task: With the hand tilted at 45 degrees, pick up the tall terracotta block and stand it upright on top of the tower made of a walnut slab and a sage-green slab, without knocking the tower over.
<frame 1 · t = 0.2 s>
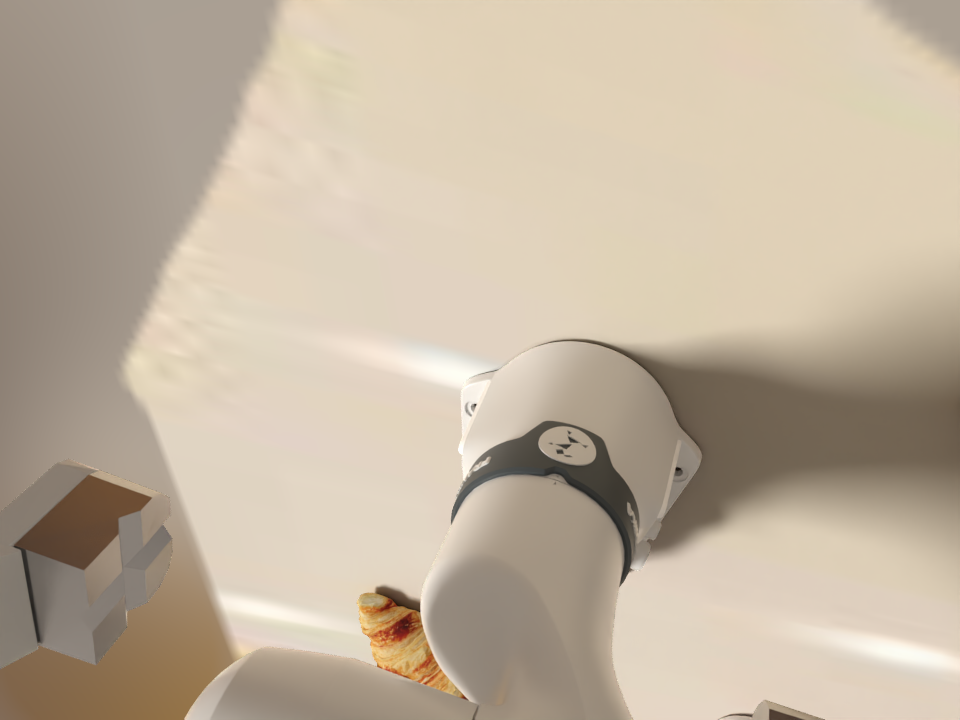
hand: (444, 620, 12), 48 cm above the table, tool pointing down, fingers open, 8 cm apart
croissant: (448, 650, 86), on the table
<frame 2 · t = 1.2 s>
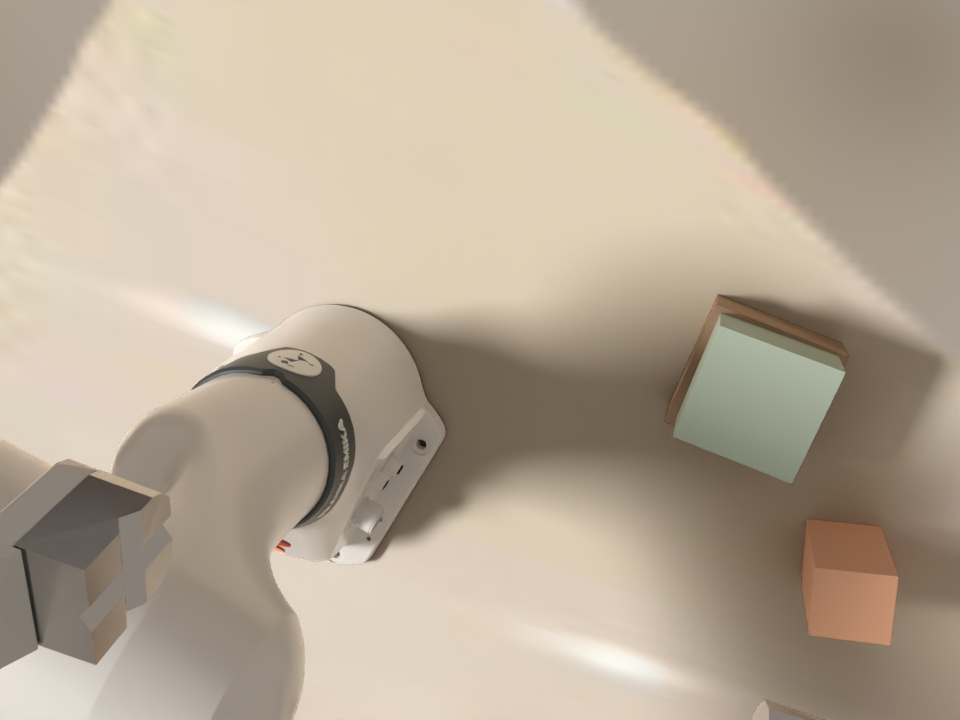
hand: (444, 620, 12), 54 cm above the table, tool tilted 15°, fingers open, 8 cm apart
tower top: (754, 387, 60), point 4 cm above the table, touching tower base
tower base: (752, 374, 64), on the table, touching tower top
terracotta block: (840, 553, 65), on the table
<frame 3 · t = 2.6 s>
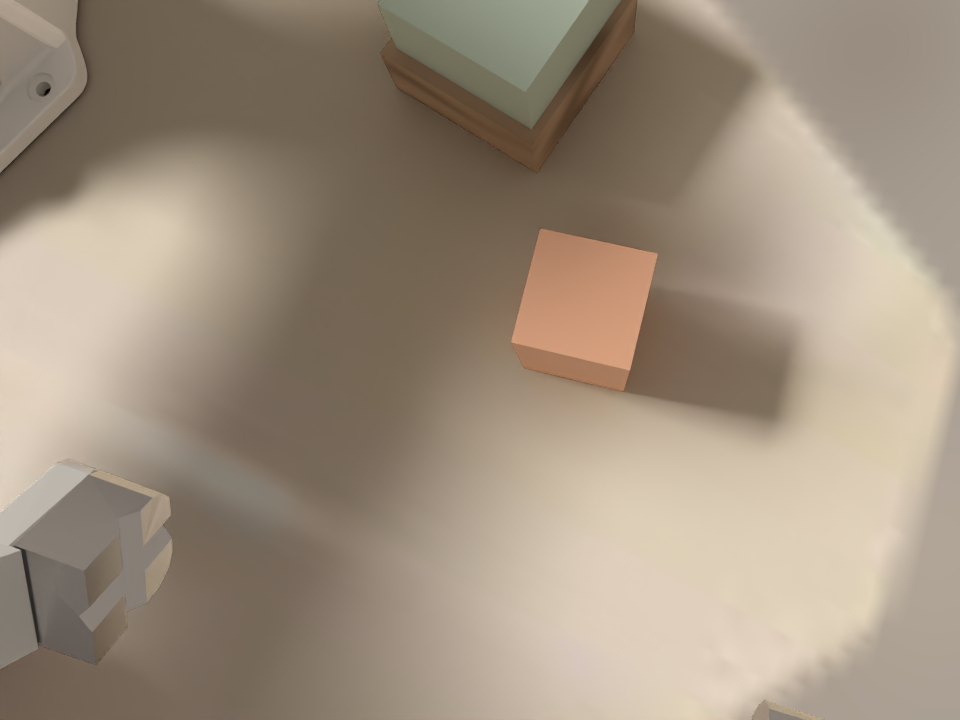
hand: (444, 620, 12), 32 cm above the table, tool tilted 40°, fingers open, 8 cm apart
tower top: (509, 21, 43), point 4 cm above the table, touching tower base
tower base: (514, 62, 47), on the table, touching tower top
terracotta block: (585, 331, 44), on the table
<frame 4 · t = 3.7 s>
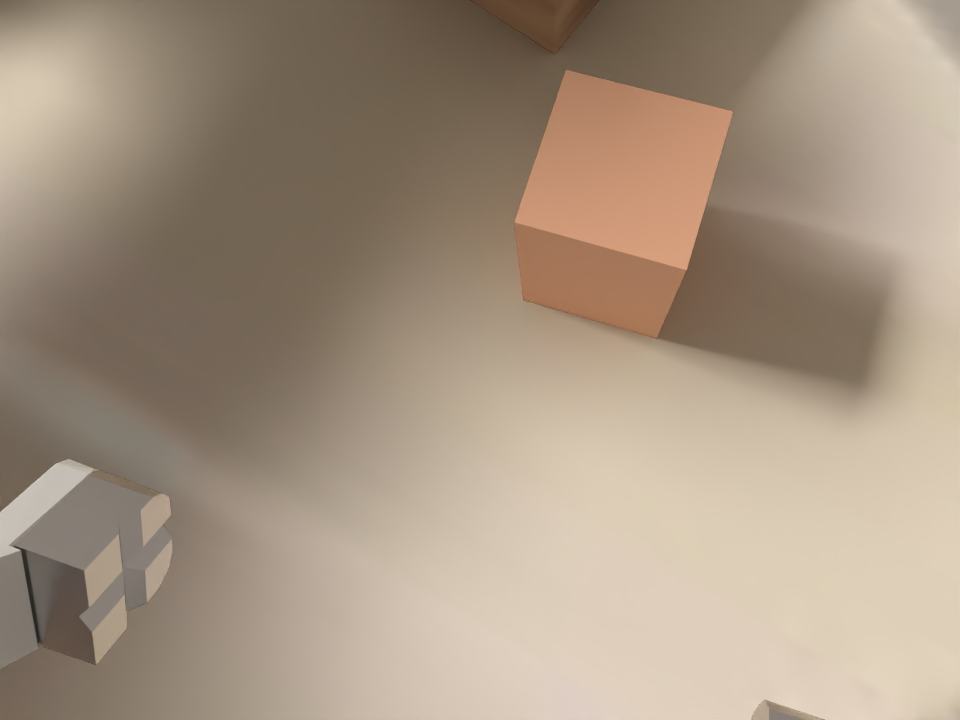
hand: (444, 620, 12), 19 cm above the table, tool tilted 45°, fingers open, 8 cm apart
terracotta block: (608, 256, 33), on the table
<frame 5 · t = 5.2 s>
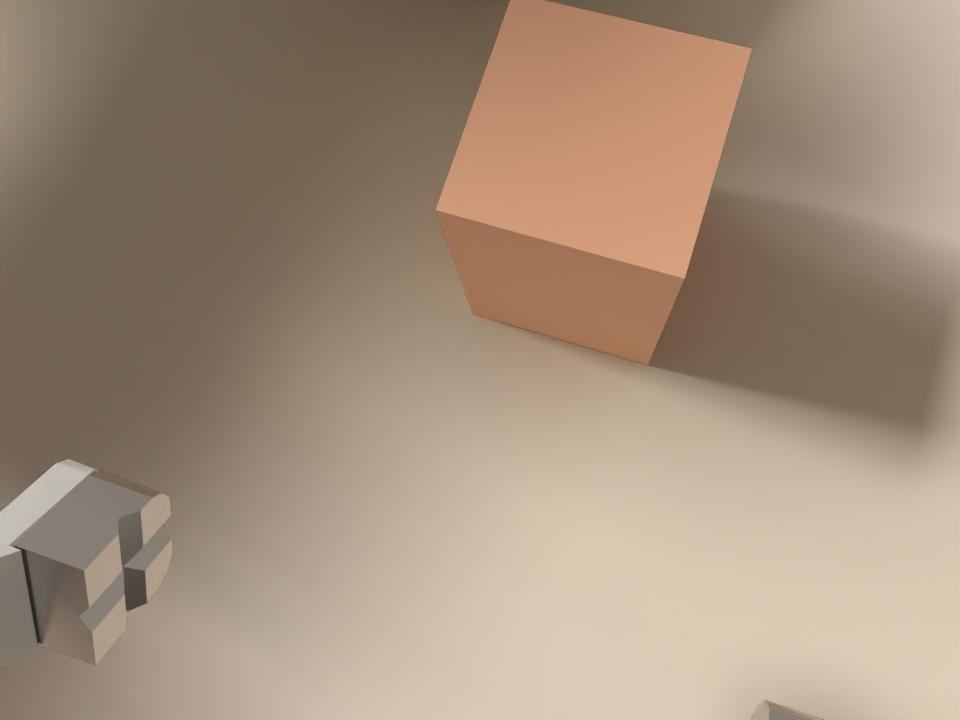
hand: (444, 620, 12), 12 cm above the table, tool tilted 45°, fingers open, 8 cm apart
terracotta block: (585, 256, 25), on the table
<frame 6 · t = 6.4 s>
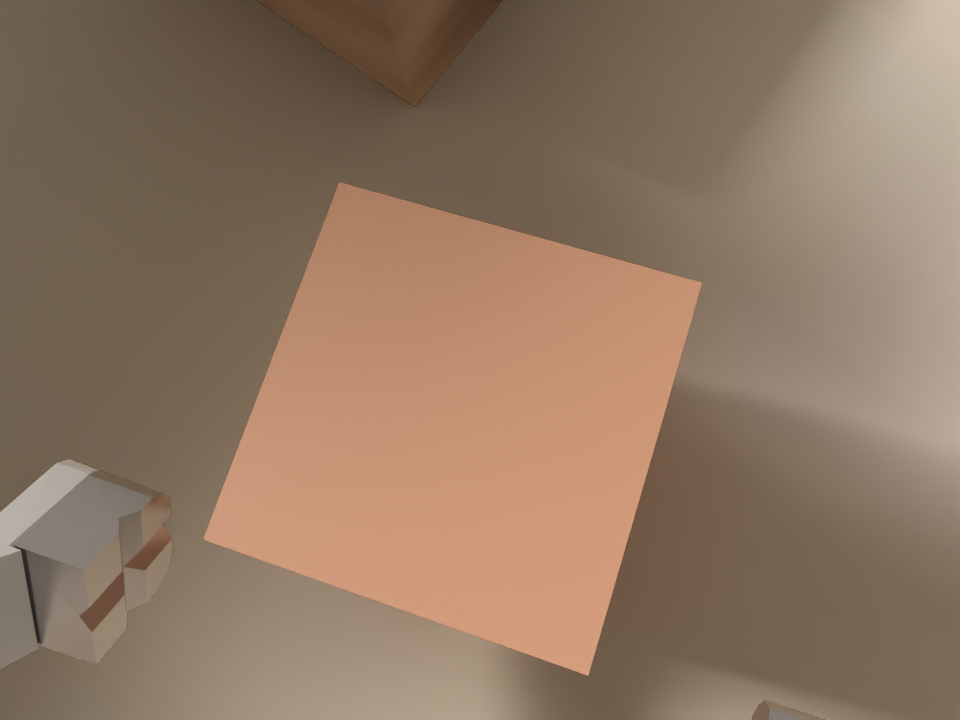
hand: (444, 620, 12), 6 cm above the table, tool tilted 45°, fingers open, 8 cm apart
terracotta block: (497, 470, 18), on the table
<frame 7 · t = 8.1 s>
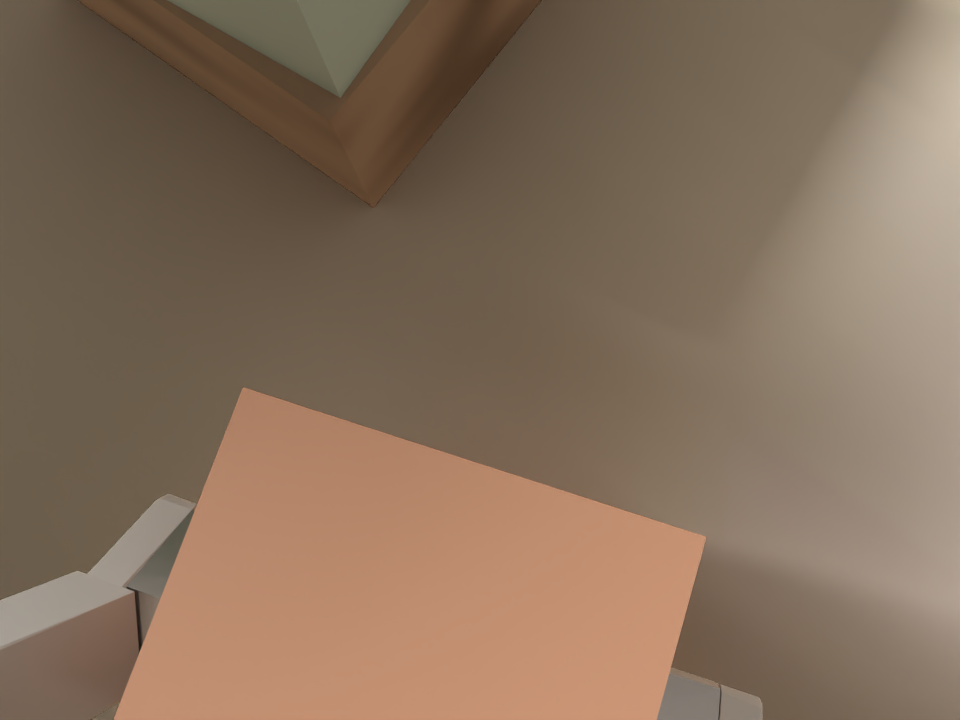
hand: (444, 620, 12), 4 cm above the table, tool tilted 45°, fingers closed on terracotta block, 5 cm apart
terracotta block: (462, 642, 16), on the table, touching gripper
when the fingers open (14 cm above the table, at t = 13.0 s): terracotta block drops 2 cm, resting on tower top.
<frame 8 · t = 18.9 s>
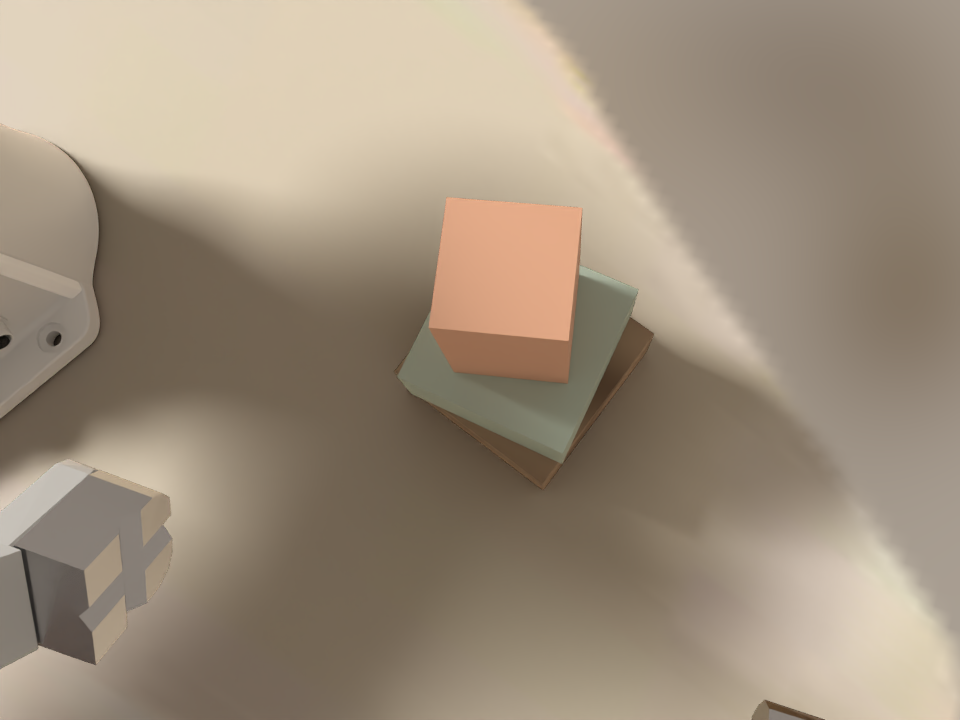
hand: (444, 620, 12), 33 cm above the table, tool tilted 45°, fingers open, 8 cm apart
tower top: (521, 354, 43), point 4 cm above the table, touching terracotta block, tower base
tower base: (525, 370, 47), on the table, touching tower top
terracotta block: (517, 322, 39), point 8 cm above the table, touching tower top
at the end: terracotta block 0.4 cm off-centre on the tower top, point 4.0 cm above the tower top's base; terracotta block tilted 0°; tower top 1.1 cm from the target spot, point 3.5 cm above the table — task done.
